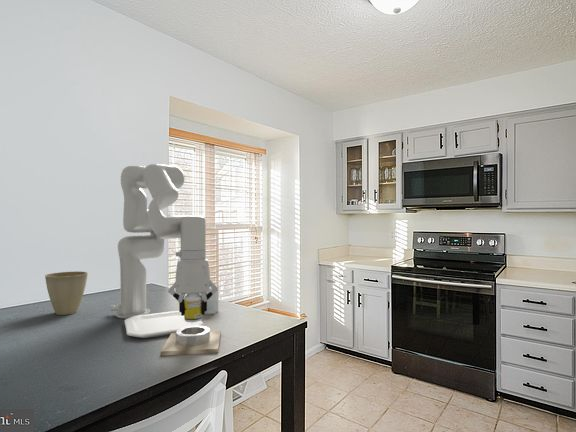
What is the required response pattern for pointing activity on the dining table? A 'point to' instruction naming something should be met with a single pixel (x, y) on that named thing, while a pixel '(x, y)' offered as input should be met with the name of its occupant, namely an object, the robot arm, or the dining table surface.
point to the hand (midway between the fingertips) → (193, 313)
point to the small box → (212, 302)
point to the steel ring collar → (193, 335)
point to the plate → (156, 324)
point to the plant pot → (66, 290)
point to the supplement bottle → (193, 307)
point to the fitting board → (176, 349)
